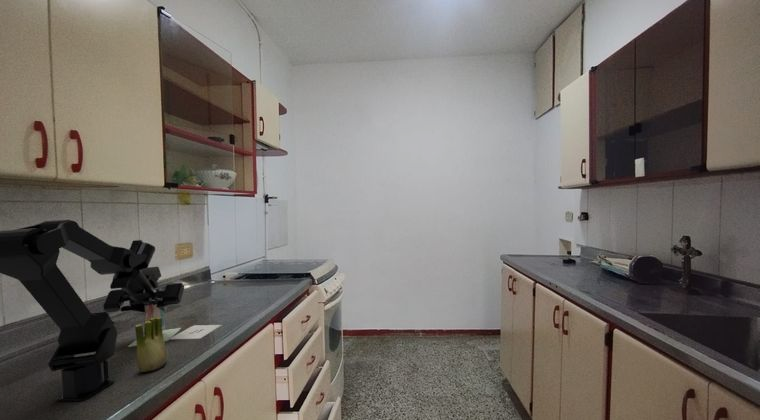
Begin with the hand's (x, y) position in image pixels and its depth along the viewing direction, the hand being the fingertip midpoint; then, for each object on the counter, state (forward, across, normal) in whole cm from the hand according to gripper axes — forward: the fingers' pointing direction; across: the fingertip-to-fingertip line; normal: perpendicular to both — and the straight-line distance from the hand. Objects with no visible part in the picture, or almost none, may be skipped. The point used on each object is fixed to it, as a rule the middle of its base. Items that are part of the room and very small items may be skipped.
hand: (156, 310), depth 92 cm
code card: (+4, -11, +7) cm, 14 cm away
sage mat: (+5, 0, +6) cm, 8 cm away
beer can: (+4, 0, +6) cm, 7 cm away
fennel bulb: (-11, -9, +22) cm, 26 cm away
